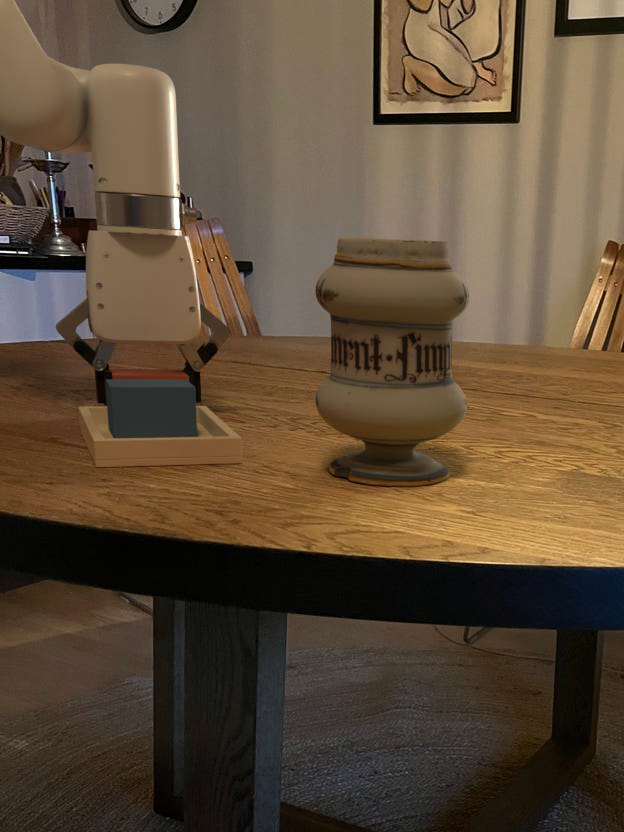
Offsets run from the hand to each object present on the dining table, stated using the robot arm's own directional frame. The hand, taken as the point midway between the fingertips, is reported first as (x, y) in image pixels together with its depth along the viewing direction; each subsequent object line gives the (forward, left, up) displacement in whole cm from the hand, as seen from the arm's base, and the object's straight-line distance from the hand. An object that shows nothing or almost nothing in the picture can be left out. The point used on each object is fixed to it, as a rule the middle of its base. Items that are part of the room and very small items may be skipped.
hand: (150, 409), depth 102 cm
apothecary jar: (+32, 0, -1) cm, 32 cm away
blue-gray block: (+10, -7, 0) cm, 12 cm away
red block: (0, 0, -1) cm, 1 cm away
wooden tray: (+12, -8, -1) cm, 14 cm away
